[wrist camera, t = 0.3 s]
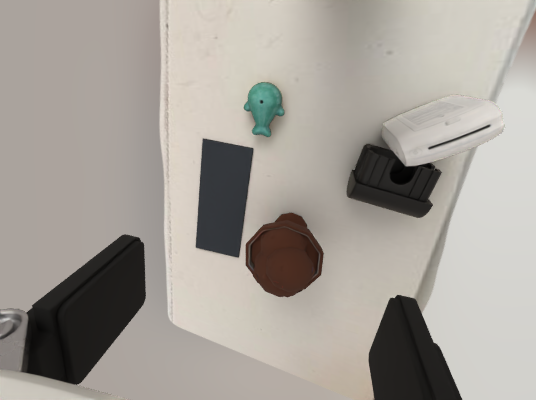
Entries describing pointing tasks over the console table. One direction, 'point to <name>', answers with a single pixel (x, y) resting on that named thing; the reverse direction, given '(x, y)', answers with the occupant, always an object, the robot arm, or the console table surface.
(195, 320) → the console table surface
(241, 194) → the plate
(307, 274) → the ice cream bowl
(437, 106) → the photo printer
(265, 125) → the whale figurine
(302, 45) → the console table surface
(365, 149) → the end cap
